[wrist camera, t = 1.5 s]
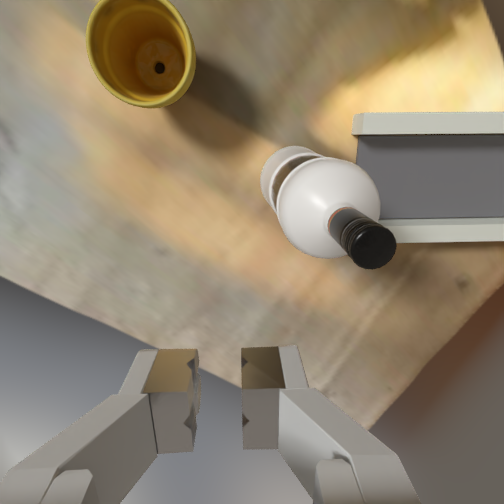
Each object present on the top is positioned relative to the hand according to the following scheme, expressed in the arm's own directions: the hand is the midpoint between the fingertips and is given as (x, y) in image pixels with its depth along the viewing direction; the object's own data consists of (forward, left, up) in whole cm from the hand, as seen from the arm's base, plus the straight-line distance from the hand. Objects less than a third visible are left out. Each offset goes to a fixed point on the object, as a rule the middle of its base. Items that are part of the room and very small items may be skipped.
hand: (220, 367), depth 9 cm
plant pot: (-14, -9, -39) cm, 43 cm away
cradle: (0, +31, -39) cm, 50 cm away
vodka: (0, +8, -39) cm, 40 cm away
